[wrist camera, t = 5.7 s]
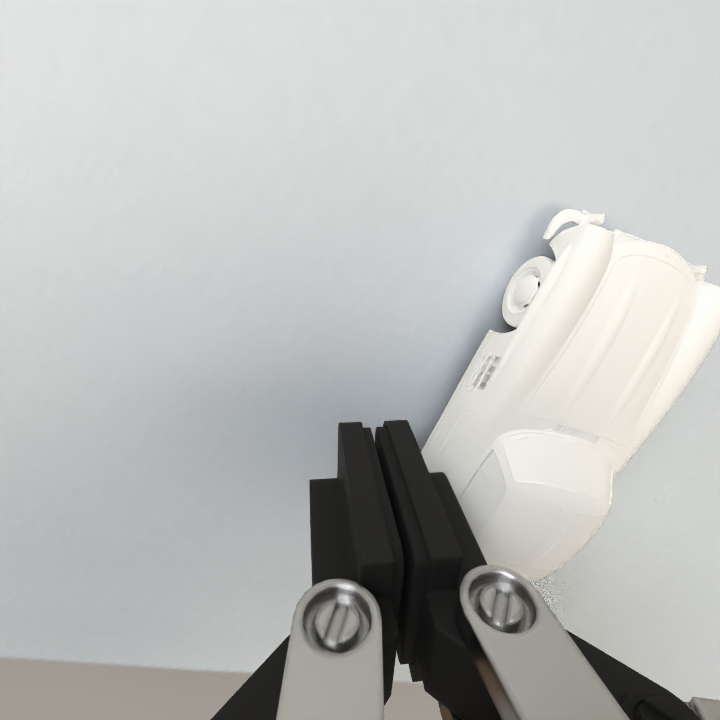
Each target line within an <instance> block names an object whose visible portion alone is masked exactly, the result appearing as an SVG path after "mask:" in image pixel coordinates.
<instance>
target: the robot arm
mask: <svg viewBox="0 0 720 720" xmlns="http://www.w3.org/2000/svg"><path fill="white" fill-rule="evenodd" d="M310 528H311V560H312V587H311V588H310V589H309V590H308V591H306V592H305V593H304V595H303V596H302V598H301V599H300V600H299V602H298V603H297V606H296V609H295V612H294V615H293V621H292V627H291V633H290V635H289V636H288V637H287V638H286V639H285V640H284V641H283V642H282V643H281V644H280V646H279V647H278V648H277V649H276V650H275V651H274V652H273V653H272V654H271V655H270V656H269V657H268V658H267V660H266V661H265V662H264V663H263V664H262V665H261V666H260V667H259V668H258V669H257V670H256V671H255V672H254V674H253V675H252V676H251V677H250V678H249V679H248V680H247V681H246V682H245V683H244V684H243V685H242V687H241V688H240V689H239V690H238V691H237V692H236V693H235V694H234V695H233V696H232V697H231V698H230V699H229V701H228V702H227V703H226V704H225V705H224V706H223V707H222V708H221V709H220V710H219V711H218V712H217V713H216V715H215V716H214V717H213V718H212V719H211V720H384V705H385V704H386V702H387V701H388V699H389V697H390V696H391V691H392V690H391V689H392V682H393V674H394V666H395V657H396V650H397V655H398V659H399V662H400V664H409V668H410V673H411V677H412V682H417V681H423V684H424V689H425V691H426V692H427V693H429V694H430V695H431V696H432V697H434V698H435V699H436V700H437V701H439V708H440V712H441V716H442V718H443V720H720V701H719V700H712V699H705V698H698V697H693V698H692V699H691V701H690V702H683V701H682V700H680V699H679V698H678V697H676V696H675V695H673V694H672V693H671V692H669V691H668V690H666V689H665V688H663V687H661V686H660V685H658V684H656V683H655V682H653V681H651V680H650V679H648V678H646V677H645V676H643V675H641V674H639V673H638V672H636V671H634V670H633V669H631V668H629V667H628V666H626V665H624V664H623V663H621V662H619V661H618V660H616V659H614V658H613V657H611V656H609V655H608V654H606V653H604V652H603V651H601V650H599V649H598V648H596V647H594V646H593V645H591V644H589V643H587V642H586V641H584V640H582V639H581V638H579V637H577V636H576V635H574V634H572V633H571V632H569V631H567V630H566V629H565V628H564V627H563V626H562V624H561V623H560V621H559V620H558V619H557V617H556V616H555V614H554V613H553V612H552V610H551V609H550V607H549V606H548V605H547V603H546V602H545V600H544V599H543V598H542V596H541V595H540V593H539V592H538V591H537V590H536V589H535V587H534V586H533V585H532V584H531V583H530V582H529V581H528V580H527V579H525V578H524V577H522V576H521V575H520V574H518V573H517V572H515V571H512V570H510V569H508V568H505V567H501V566H496V565H487V562H486V560H485V558H484V556H483V554H482V552H481V549H480V547H479V545H478V543H477V541H476V539H475V536H474V534H473V532H472V530H471V528H470V526H469V523H468V521H467V519H466V517H465V515H464V513H463V510H462V508H461V506H460V504H459V502H458V500H457V497H456V495H455V493H454V491H453V489H452V487H451V484H450V482H449V480H448V478H447V476H446V475H445V474H444V473H443V472H433V473H429V471H428V469H427V466H426V464H425V461H424V459H423V456H422V454H421V452H420V449H419V447H418V444H417V442H416V439H415V437H414V435H413V432H412V430H411V427H410V425H409V423H408V421H407V420H396V421H385V422H384V424H383V427H377V428H376V432H375V443H374V439H373V435H372V432H371V428H363V426H362V423H361V422H348V423H339V426H338V475H337V478H331V479H314V480H310Z"/></svg>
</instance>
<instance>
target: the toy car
mask: <svg viewBox="0 0 720 720" xmlns="http://www.w3.org/2000/svg"><path fill="white" fill-rule="evenodd" d="M604 220H605V215H604V214H592V213H590V212H588V211H586V210H584V211H583V212H582V213H581V212H579V211H577V210H574V209H565V210H562V211H561V212H559V213H558V214H556V215H555V216H554V217H553V219H552V220H551V222H550V223H549V225H548V227H547V229H546V231H545V234H544V236H543V238H544V239H550V238H551V237H552V236H553V234H554V233H555V232H556V230H557V229H558V228H559V227H560V226H561V225H562V224H564V223H566V222H569V221H571V222H572V223H574V224H576V225H577V226H576V227H571V228H568V229H565V230H563V231H561V232H560V233H559V234H558V235H557V236H555V237H554V238H553V240H552V241H551V242H550V243H549V245H550V246H551V248H552V250H553V252H554V254H555V258H556V261H554V260H552V259H550V258H548V257H545V256H538V257H534V258H532V259H530V260H528V261H527V262H526V263H524V264H523V265H522V266H521V267H520V268H519V269H518V270H517V271H516V273H515V274H514V275H513V277H512V278H511V280H510V282H509V284H508V286H507V288H506V290H505V293H504V297H503V302H502V313H503V317H504V319H505V321H506V322H507V323H508V324H509V325H511V326H513V327H516V328H517V329H516V330H513V331H511V332H507V333H498V332H495V331H492V330H489V331H488V333H487V335H486V336H485V338H484V340H483V342H482V343H481V345H480V347H479V348H478V350H477V352H476V354H475V356H474V357H473V359H472V361H471V363H470V364H469V366H468V368H467V370H466V372H465V373H464V375H463V377H462V379H461V381H460V382H459V384H458V386H457V388H456V390H455V391H454V393H453V395H452V397H451V399H450V400H449V402H448V404H447V406H446V408H445V409H444V411H443V413H442V415H441V417H440V418H439V420H438V422H437V424H436V426H435V427H434V429H433V431H432V433H431V434H430V436H429V438H428V440H427V442H426V444H425V446H424V447H423V449H422V451H421V454H422V456H423V459H424V461H425V464H426V466H427V469H428V471H429V473H433V472H443V473H444V474H445V475H446V476H447V478H448V480H449V482H450V484H451V487H452V489H453V491H454V493H455V495H456V497H457V500H458V501H459V504H460V506H461V508H462V510H463V513H464V515H465V517H466V519H467V521H468V523H469V526H470V528H471V530H472V532H473V534H474V536H475V539H476V541H477V543H478V545H479V547H480V549H481V552H482V554H483V556H484V558H485V560H486V562H487V565H496V566H501V567H505V568H508V569H510V570H512V571H515V572H517V573H518V574H520V575H521V576H522V577H524V578H525V579H527V580H528V581H529V582H530V581H536V580H542V578H544V577H546V576H548V575H550V574H551V573H553V572H554V571H556V570H557V569H558V568H560V567H561V566H563V565H564V564H565V563H566V562H567V561H569V560H570V559H571V558H572V557H573V556H574V555H575V554H576V553H577V552H578V551H579V550H580V549H581V548H582V547H583V546H584V545H585V544H586V543H587V542H588V541H589V540H590V539H591V537H592V536H593V535H594V534H595V533H596V531H597V530H598V529H599V528H600V526H601V525H602V523H603V522H604V520H605V518H606V517H607V515H608V513H609V511H610V507H611V500H612V480H613V479H614V478H615V476H616V475H617V474H618V473H619V472H620V470H621V469H622V468H623V467H624V466H625V464H626V463H627V462H628V461H629V459H630V458H631V457H632V456H633V454H634V453H635V452H636V451H637V449H638V448H639V447H640V446H641V444H642V443H643V442H644V441H645V439H646V438H647V437H648V436H649V434H650V433H651V432H652V431H653V429H654V428H655V427H656V426H657V424H658V423H659V422H660V421H661V419H662V418H663V417H664V415H665V414H666V413H667V412H668V410H669V409H670V408H671V406H672V405H673V404H674V402H675V401H676V399H677V398H678V397H679V395H680V394H681V393H682V391H683V390H684V388H685V387H686V386H687V384H688V383H689V381H690V380H691V379H692V377H693V376H694V374H695V373H696V371H697V370H698V368H699V367H700V365H701V364H702V362H703V361H704V359H705V358H706V356H707V354H708V353H709V351H710V350H711V348H712V346H713V344H714V343H715V341H716V339H717V337H718V335H719V333H720V287H719V286H716V285H713V284H710V283H706V282H705V278H704V276H703V275H704V274H705V273H706V271H707V267H705V266H696V265H692V264H690V263H688V262H686V261H685V260H684V259H683V258H682V257H681V256H680V255H679V254H678V253H677V252H676V251H674V250H673V249H671V248H669V247H667V246H665V245H662V244H659V243H654V242H651V241H644V240H642V239H640V238H638V237H636V236H633V235H630V234H627V233H623V232H621V230H619V229H614V230H613V231H611V230H606V229H604V228H602V227H599V225H600V224H602V223H603V222H604ZM538 282H540V287H539V286H538ZM526 304H528V305H529V306H527V307H525V305H526ZM490 453H491V454H490ZM489 454H490V455H489ZM488 455H489V456H488ZM486 458H487V459H486ZM485 459H486V460H485ZM484 461H485V462H484ZM483 462H484V463H483ZM481 465H482V466H481ZM480 466H481V467H480ZM480 469H481V470H480ZM477 471H478V472H477ZM476 472H477V473H476ZM482 472H483V473H482ZM475 474H476V475H475ZM474 475H475V476H474ZM484 475H485V476H484ZM473 477H474V478H473ZM472 478H473V479H472ZM486 478H487V479H486ZM471 480H472V481H471ZM488 481H489V482H488ZM539 482H540V483H539ZM469 483H470V484H469ZM490 484H491V485H492V486H491V485H490ZM467 486H468V487H467ZM466 488H467V489H466ZM493 488H494V489H495V490H494V489H493ZM465 489H466V490H465ZM464 491H465V492H464ZM495 491H496V492H497V493H496V492H495ZM462 494H463V495H462ZM461 496H462V497H461ZM499 496H500V497H499ZM460 498H461V499H460ZM459 499H460V500H459Z"/></svg>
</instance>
